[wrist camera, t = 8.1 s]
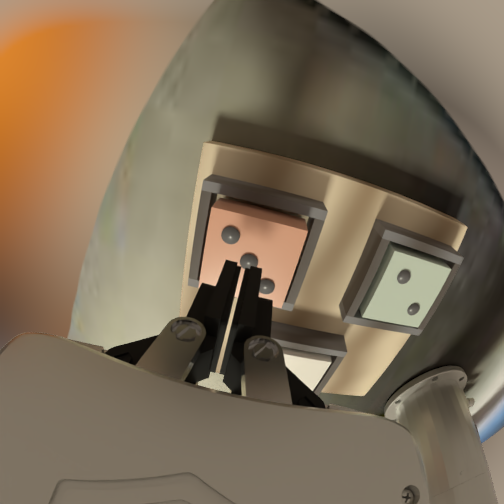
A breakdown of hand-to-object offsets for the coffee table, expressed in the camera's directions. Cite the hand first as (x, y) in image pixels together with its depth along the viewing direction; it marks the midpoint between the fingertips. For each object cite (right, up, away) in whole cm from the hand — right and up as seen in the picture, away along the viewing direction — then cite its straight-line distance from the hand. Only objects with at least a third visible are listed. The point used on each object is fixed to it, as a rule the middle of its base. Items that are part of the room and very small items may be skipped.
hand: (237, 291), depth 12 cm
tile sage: (+11, 0, +6) cm, 13 cm away
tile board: (+5, -2, +10) cm, 11 cm away
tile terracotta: (+1, +2, +5) cm, 5 cm away
